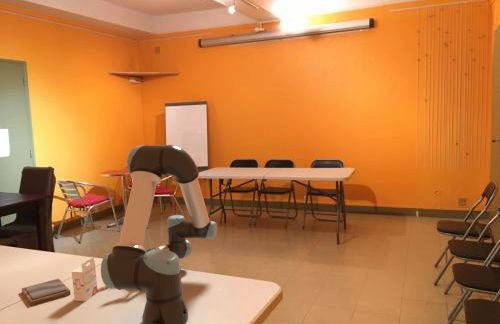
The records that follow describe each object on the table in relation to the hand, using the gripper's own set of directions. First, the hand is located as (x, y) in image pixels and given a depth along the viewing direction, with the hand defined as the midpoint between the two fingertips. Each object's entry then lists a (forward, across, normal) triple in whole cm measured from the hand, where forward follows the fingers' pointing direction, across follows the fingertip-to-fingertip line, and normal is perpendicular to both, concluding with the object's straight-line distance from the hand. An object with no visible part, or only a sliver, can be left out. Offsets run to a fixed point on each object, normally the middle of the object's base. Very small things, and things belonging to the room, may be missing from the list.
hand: (109, 269), depth 167 cm
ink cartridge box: (+10, 0, -8) cm, 13 cm away
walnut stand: (+21, +14, -8) cm, 26 cm away
